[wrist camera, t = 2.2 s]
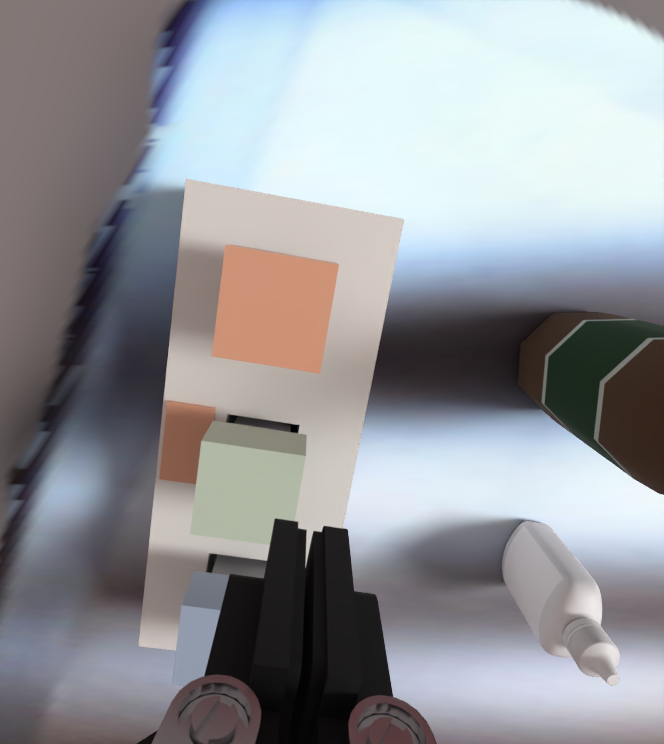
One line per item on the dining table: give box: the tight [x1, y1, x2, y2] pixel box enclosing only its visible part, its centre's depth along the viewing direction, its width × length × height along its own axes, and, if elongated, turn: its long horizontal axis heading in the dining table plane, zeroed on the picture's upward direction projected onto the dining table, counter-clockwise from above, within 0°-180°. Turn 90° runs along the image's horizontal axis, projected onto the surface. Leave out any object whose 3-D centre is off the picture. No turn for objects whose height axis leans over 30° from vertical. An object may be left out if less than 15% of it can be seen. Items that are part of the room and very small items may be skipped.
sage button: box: [190, 416, 307, 545], centre depth 30 cm, size 5×5×8 cm
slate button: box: [172, 554, 267, 686], centre depth 32 cm, size 5×5×8 cm
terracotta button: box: [212, 245, 339, 374], centre depth 28 cm, size 5×5×8 cm
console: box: [139, 179, 404, 650], centre depth 34 cm, size 30×12×5 cm, turn 170°
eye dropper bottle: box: [502, 521, 620, 686], centre depth 33 cm, size 4×6×12 cm
